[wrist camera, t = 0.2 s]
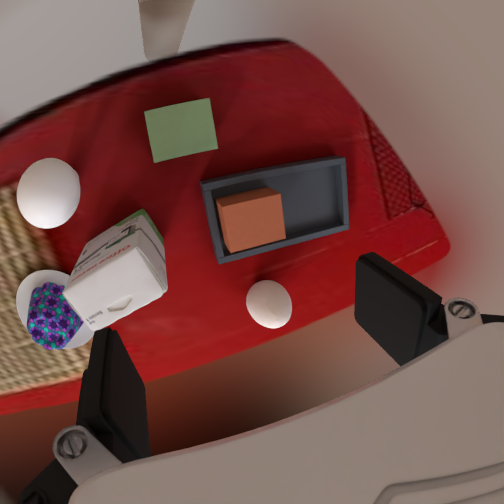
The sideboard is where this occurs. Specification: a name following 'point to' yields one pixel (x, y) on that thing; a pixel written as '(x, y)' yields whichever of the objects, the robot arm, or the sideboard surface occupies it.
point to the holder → (286, 201)
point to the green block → (181, 129)
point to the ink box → (118, 272)
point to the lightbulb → (48, 193)
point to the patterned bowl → (50, 311)
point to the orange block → (250, 218)
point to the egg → (269, 304)
